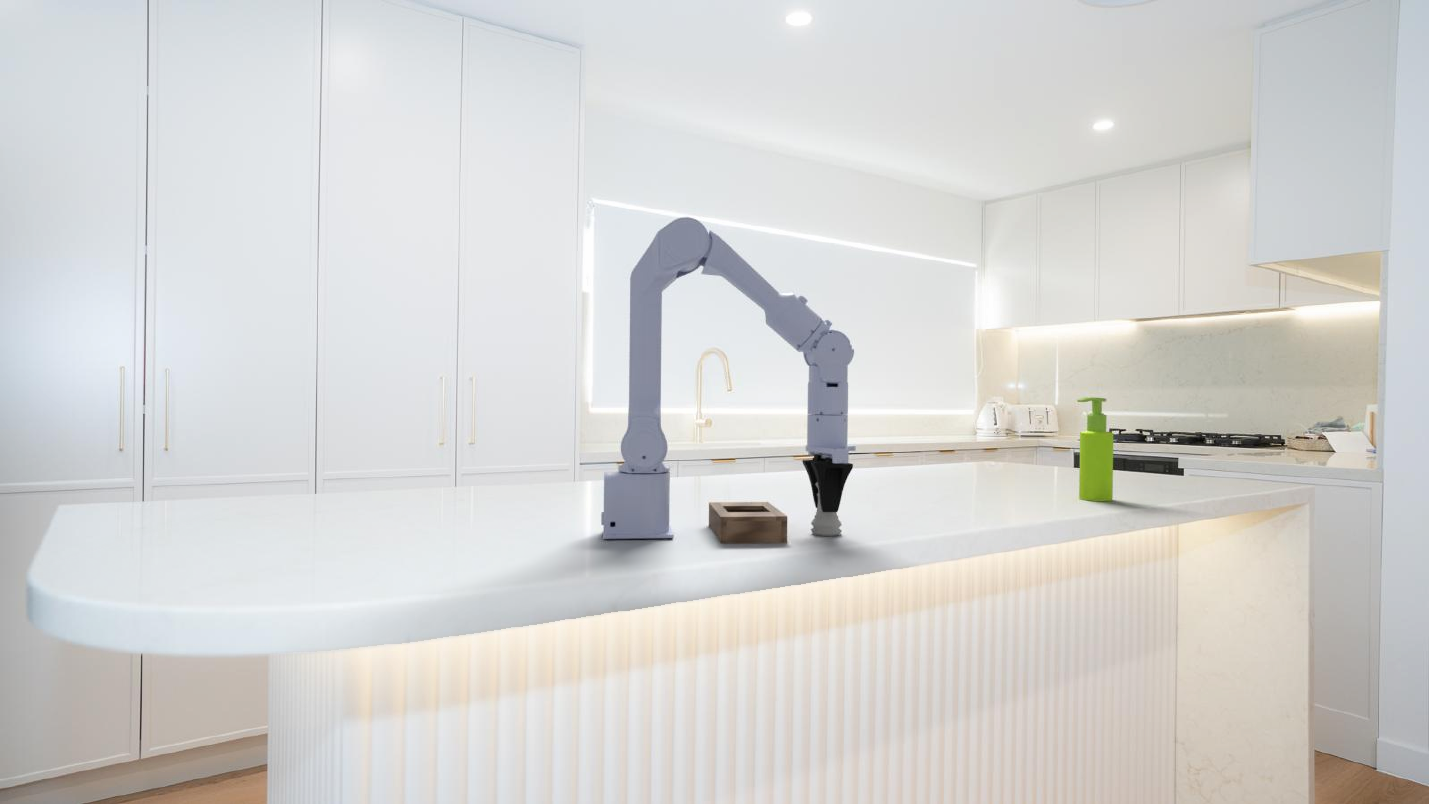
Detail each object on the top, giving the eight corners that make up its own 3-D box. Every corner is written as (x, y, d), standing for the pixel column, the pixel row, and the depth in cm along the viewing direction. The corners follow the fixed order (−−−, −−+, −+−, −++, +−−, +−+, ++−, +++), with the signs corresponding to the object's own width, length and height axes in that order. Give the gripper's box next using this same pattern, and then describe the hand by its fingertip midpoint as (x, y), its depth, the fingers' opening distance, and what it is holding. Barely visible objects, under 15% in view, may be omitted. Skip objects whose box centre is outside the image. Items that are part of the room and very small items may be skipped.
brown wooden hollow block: (720, 543, 103) (720, 516, 103) (708, 525, 117) (708, 502, 117) (787, 542, 104) (787, 516, 104) (767, 524, 118) (767, 501, 118)
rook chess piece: (841, 537, 108) (842, 480, 108) (809, 535, 109) (809, 479, 109) (842, 531, 112) (843, 476, 112) (811, 530, 113) (812, 475, 113)
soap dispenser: (1068, 497, 154) (1069, 397, 153) (1096, 496, 156) (1097, 397, 156) (1090, 501, 148) (1092, 397, 148) (1119, 500, 150) (1120, 397, 150)
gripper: (870, 416, 104) (869, 517, 104) (840, 413, 118) (839, 502, 118) (819, 416, 103) (818, 518, 103) (795, 413, 117) (794, 503, 117)
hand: (826, 510), depth 111 cm, fingers closed on rook chess piece, 3 cm apart
